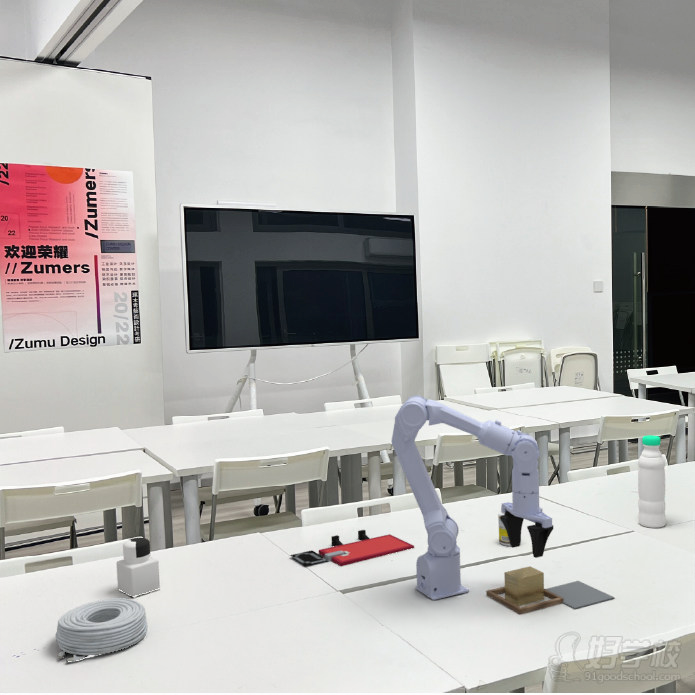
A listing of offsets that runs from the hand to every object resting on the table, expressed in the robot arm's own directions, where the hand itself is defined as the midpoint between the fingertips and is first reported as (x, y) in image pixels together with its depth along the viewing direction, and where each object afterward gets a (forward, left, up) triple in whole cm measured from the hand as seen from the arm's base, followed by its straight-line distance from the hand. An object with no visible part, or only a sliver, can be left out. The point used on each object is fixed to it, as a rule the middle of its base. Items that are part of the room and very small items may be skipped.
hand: (526, 551), depth 167 cm
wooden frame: (-2, -2, -10) cm, 10 cm away
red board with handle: (-21, +45, -10) cm, 51 cm away
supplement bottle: (+18, +29, -10) cm, 35 cm away
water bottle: (+61, +21, -10) cm, 65 cm away
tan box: (-2, -2, -10) cm, 10 cm away
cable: (-87, +25, -10) cm, 91 cm away
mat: (+9, -6, -10) cm, 14 cm away
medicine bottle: (-75, +47, -10) cm, 89 cm away
